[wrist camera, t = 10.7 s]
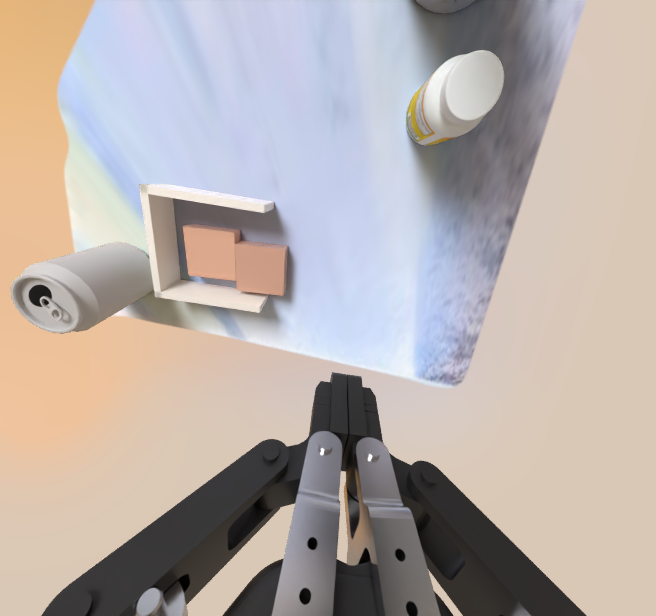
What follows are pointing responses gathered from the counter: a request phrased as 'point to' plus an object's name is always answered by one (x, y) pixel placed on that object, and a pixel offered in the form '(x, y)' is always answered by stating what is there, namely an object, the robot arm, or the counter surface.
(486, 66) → the supplement bottle
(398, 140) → the counter surface
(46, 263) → the can
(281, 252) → the tile
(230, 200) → the white u-shaped bracket
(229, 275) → the tile
